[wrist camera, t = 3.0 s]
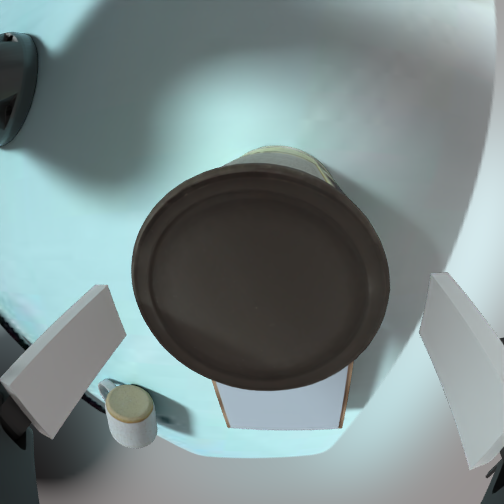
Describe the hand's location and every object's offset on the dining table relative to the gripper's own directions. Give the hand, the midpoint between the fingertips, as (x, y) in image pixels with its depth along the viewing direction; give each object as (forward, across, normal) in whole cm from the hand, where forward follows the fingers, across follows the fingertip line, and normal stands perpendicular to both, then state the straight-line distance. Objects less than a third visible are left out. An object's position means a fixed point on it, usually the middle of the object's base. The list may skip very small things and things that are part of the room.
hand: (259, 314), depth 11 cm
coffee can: (+14, 0, 0) cm, 14 cm away
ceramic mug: (+15, -24, -26) cm, 38 cm away
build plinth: (+14, -1, -16) cm, 22 cm away
